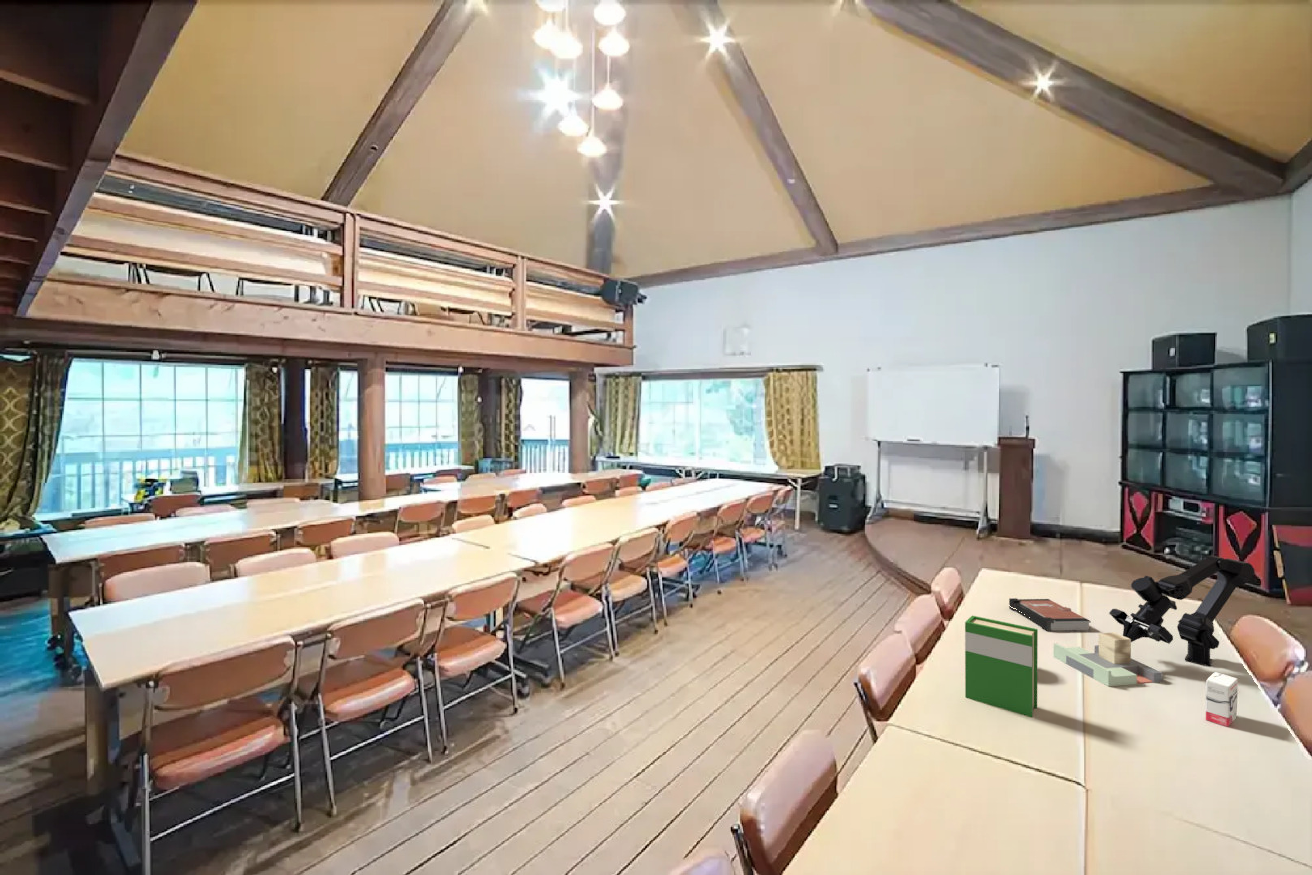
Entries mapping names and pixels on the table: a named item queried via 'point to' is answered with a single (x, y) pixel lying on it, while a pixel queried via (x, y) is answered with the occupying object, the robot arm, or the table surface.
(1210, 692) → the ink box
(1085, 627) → the book
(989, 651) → the hardback book
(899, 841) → the table surface
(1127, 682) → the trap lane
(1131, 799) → the table surface
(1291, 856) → the table surface
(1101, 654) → the beech block
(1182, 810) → the table surface
